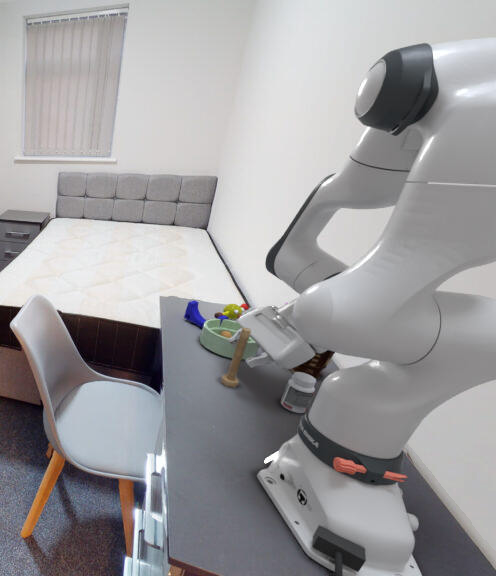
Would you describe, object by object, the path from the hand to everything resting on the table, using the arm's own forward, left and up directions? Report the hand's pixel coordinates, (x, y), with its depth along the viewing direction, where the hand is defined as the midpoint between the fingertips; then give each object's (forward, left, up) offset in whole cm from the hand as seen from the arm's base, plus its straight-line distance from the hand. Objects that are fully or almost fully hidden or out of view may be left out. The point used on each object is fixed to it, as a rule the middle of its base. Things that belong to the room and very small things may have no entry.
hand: (238, 353), depth 91 cm
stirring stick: (0, 0, -9) cm, 9 cm away
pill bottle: (-5, -12, -9) cm, 16 cm away
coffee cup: (+13, -21, -9) cm, 26 cm away
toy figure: (+39, -9, -9) cm, 41 cm away
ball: (+23, -4, -7) cm, 25 cm away
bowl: (+20, -4, -9) cm, 22 cm away
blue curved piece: (+32, 0, -8) cm, 33 cm away
